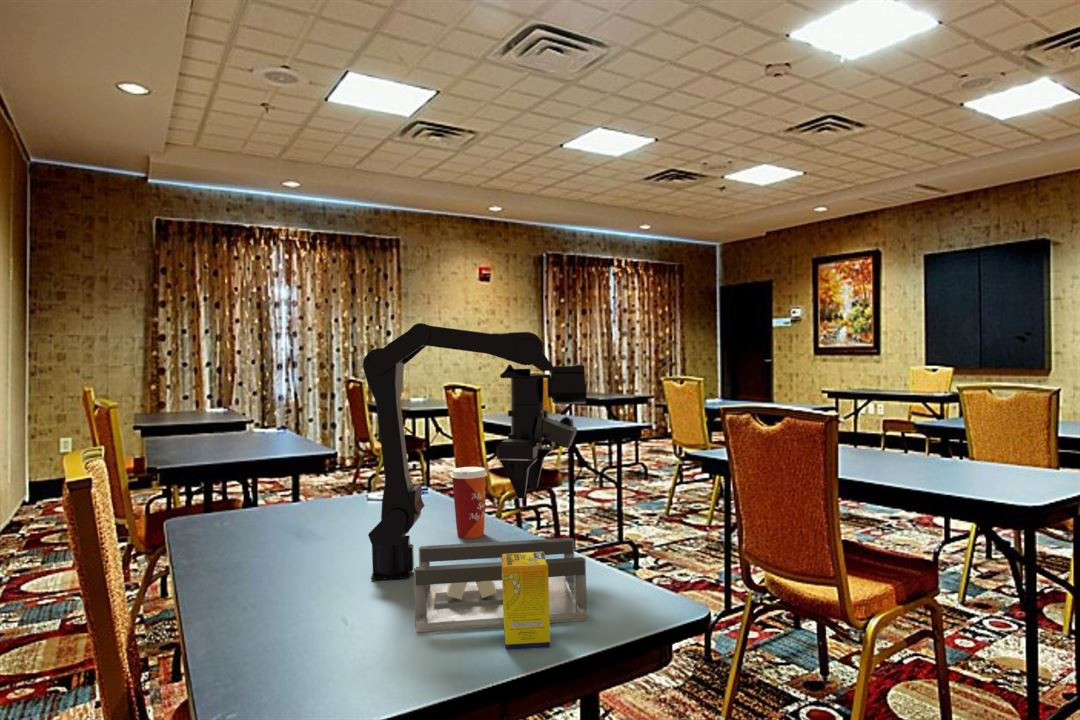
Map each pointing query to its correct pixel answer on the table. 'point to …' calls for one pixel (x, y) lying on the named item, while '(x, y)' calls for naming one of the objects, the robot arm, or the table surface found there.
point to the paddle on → (456, 590)
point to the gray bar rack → (493, 565)
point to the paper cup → (469, 501)
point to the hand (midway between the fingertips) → (528, 493)
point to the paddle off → (486, 588)
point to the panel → (491, 607)
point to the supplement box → (525, 601)
